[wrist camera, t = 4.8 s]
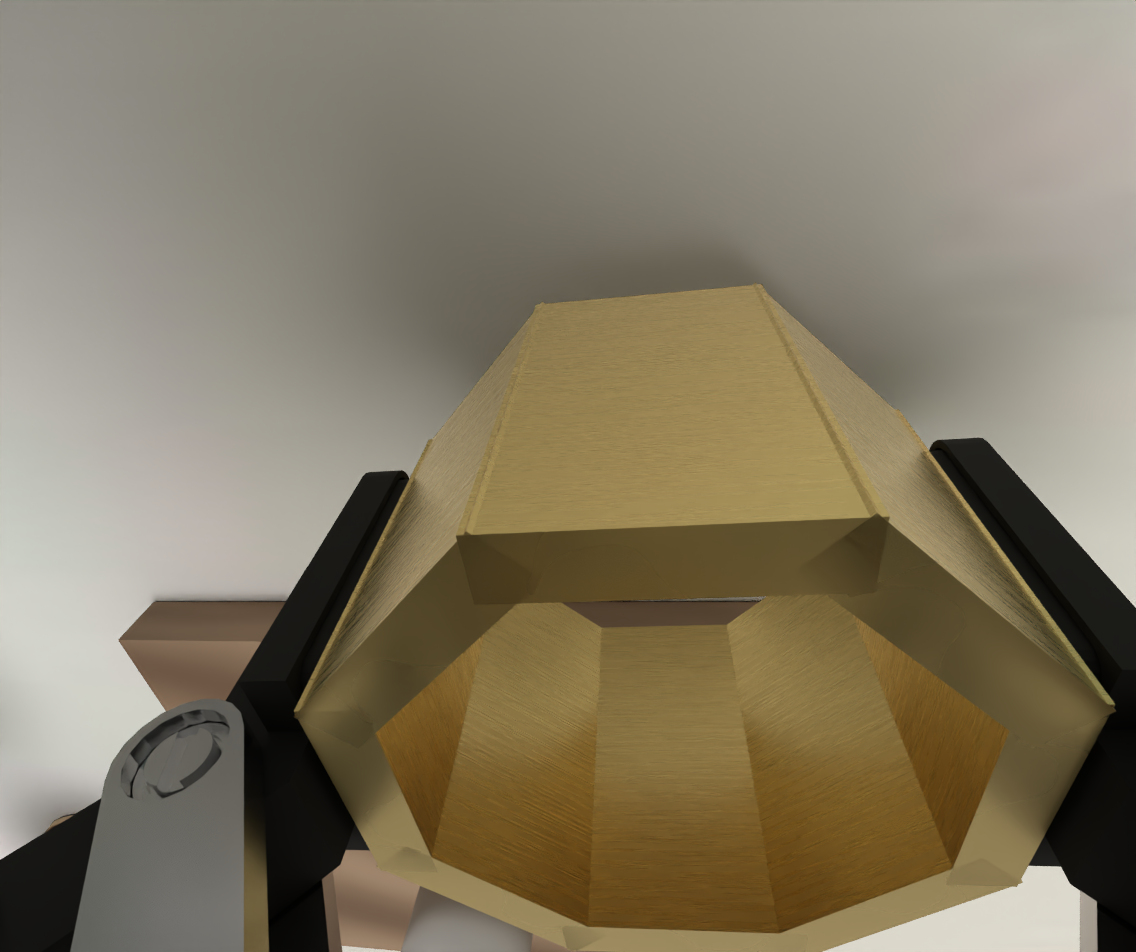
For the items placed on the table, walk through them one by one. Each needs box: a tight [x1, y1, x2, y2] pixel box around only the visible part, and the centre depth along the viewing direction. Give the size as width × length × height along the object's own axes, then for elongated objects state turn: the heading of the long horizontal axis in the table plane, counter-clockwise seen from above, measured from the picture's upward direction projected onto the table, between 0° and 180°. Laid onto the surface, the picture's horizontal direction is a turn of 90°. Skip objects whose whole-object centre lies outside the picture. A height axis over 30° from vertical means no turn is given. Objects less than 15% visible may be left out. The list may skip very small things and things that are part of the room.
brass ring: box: [294, 282, 1116, 952], centre depth 9 cm, size 7×7×5 cm
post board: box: [119, 602, 758, 952], centre depth 19 cm, size 18×18×8 cm
